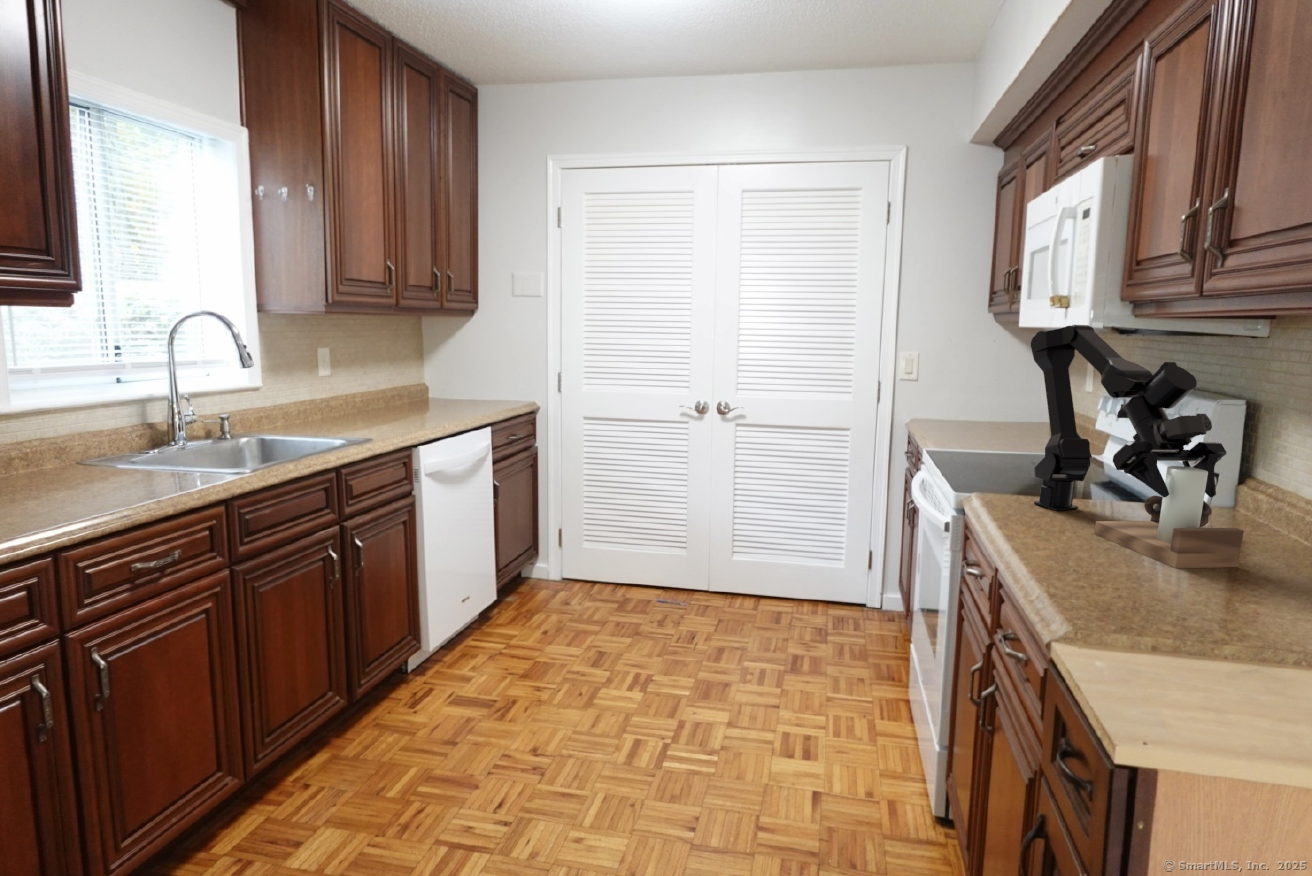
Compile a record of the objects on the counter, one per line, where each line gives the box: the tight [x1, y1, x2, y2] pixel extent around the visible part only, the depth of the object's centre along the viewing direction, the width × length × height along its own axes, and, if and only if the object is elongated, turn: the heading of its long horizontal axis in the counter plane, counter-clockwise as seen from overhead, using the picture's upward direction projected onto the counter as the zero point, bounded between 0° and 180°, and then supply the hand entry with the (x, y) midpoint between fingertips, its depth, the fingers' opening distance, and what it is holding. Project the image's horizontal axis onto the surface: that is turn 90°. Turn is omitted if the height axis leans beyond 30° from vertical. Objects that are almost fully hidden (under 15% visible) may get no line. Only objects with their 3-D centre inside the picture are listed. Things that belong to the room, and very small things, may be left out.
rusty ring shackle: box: [1144, 495, 1213, 528], centre depth 162 cm, size 12×10×8 cm
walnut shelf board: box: [1093, 520, 1245, 569], centre depth 144 cm, size 20×12×6 cm, turn 8°
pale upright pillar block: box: [1157, 465, 1208, 544], centre depth 141 cm, size 6×6×13 cm
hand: (1190, 496), depth 139 cm, fingers open, 9 cm apart
